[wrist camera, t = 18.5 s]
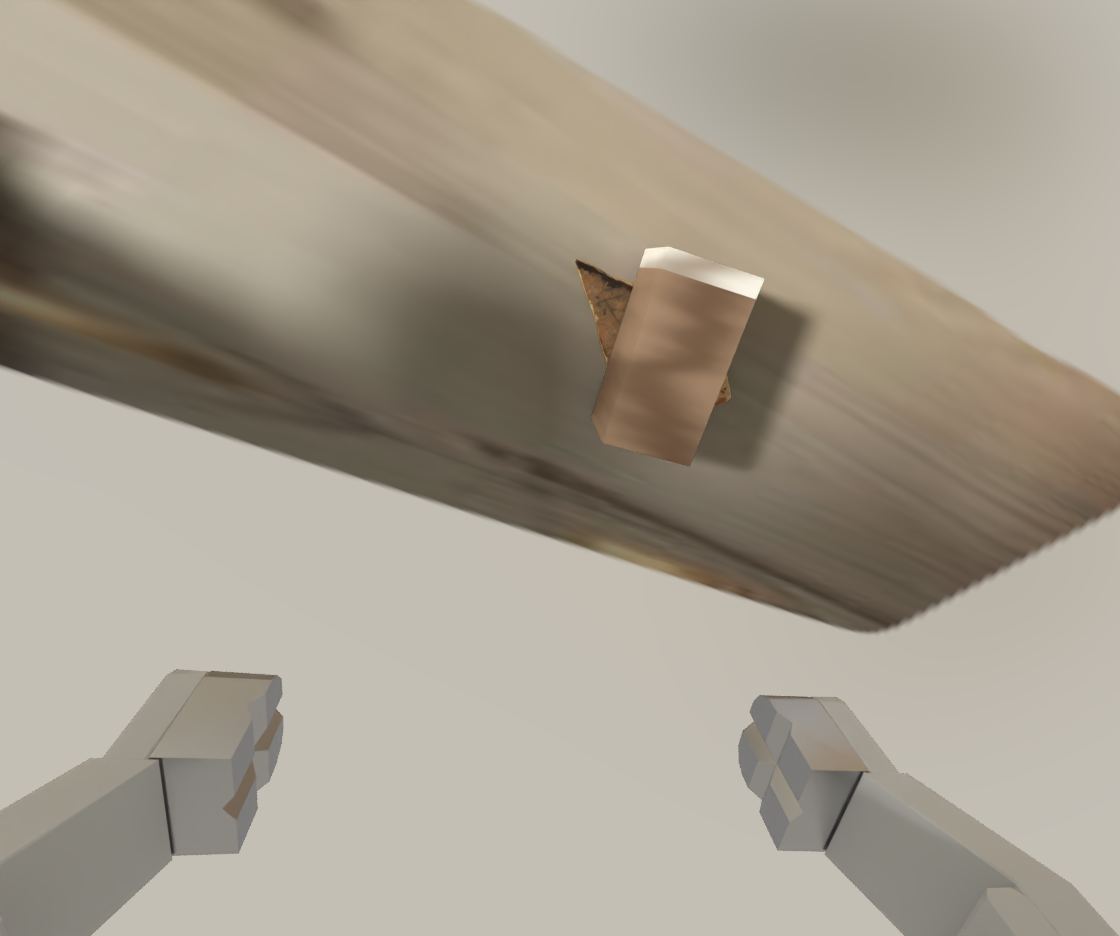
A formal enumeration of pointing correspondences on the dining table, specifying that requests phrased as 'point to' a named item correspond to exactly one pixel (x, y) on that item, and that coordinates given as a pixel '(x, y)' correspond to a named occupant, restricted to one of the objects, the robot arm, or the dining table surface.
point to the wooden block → (672, 353)
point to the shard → (615, 311)
